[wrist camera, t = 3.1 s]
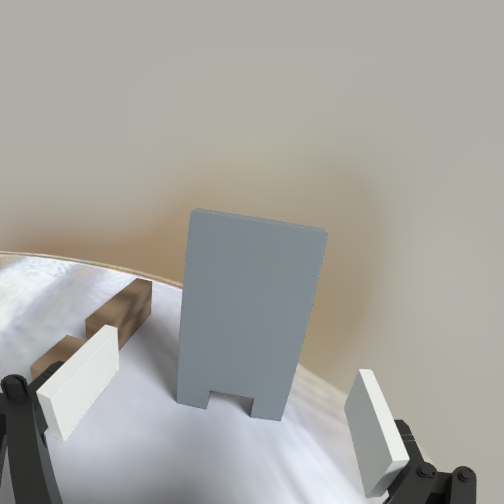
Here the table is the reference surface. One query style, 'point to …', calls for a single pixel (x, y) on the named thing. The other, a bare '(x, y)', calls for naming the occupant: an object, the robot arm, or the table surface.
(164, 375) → the table surface
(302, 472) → the table surface
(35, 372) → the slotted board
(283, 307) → the slotted plate
